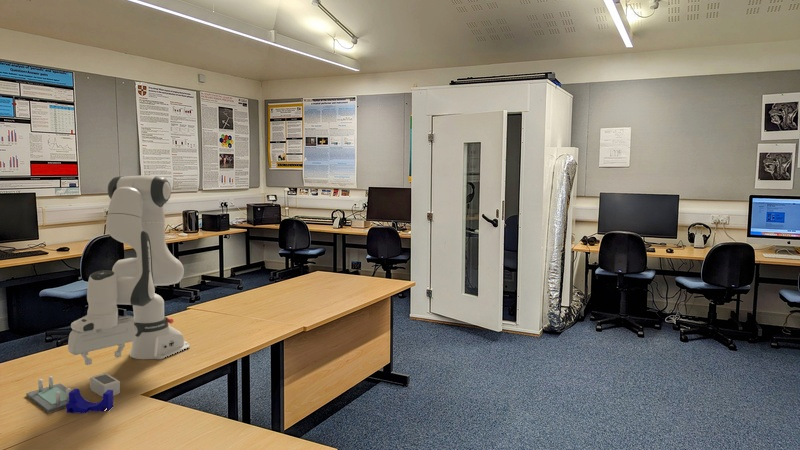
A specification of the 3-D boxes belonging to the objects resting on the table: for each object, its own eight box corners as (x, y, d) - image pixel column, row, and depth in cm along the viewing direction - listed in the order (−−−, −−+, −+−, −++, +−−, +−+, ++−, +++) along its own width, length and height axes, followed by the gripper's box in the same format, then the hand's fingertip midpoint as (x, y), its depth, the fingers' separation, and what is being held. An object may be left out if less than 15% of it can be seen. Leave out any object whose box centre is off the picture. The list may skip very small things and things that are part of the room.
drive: (105, 385, 183) (105, 372, 182) (120, 394, 177) (119, 381, 176) (90, 389, 179) (90, 377, 178) (104, 399, 173) (104, 385, 172)
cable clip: (66, 413, 163) (65, 394, 162) (74, 406, 167) (74, 388, 166) (106, 414, 163) (105, 396, 163) (113, 407, 168) (113, 389, 167)
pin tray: (60, 386, 180) (59, 372, 179) (83, 401, 170) (82, 387, 169) (26, 396, 172) (25, 381, 171) (48, 413, 162) (47, 397, 161)
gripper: (129, 312, 184) (129, 350, 186) (65, 324, 168) (66, 366, 169) (138, 315, 181) (139, 354, 182) (74, 328, 164) (75, 371, 166)
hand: (103, 360), depth 176 cm, fingers open, 8 cm apart
